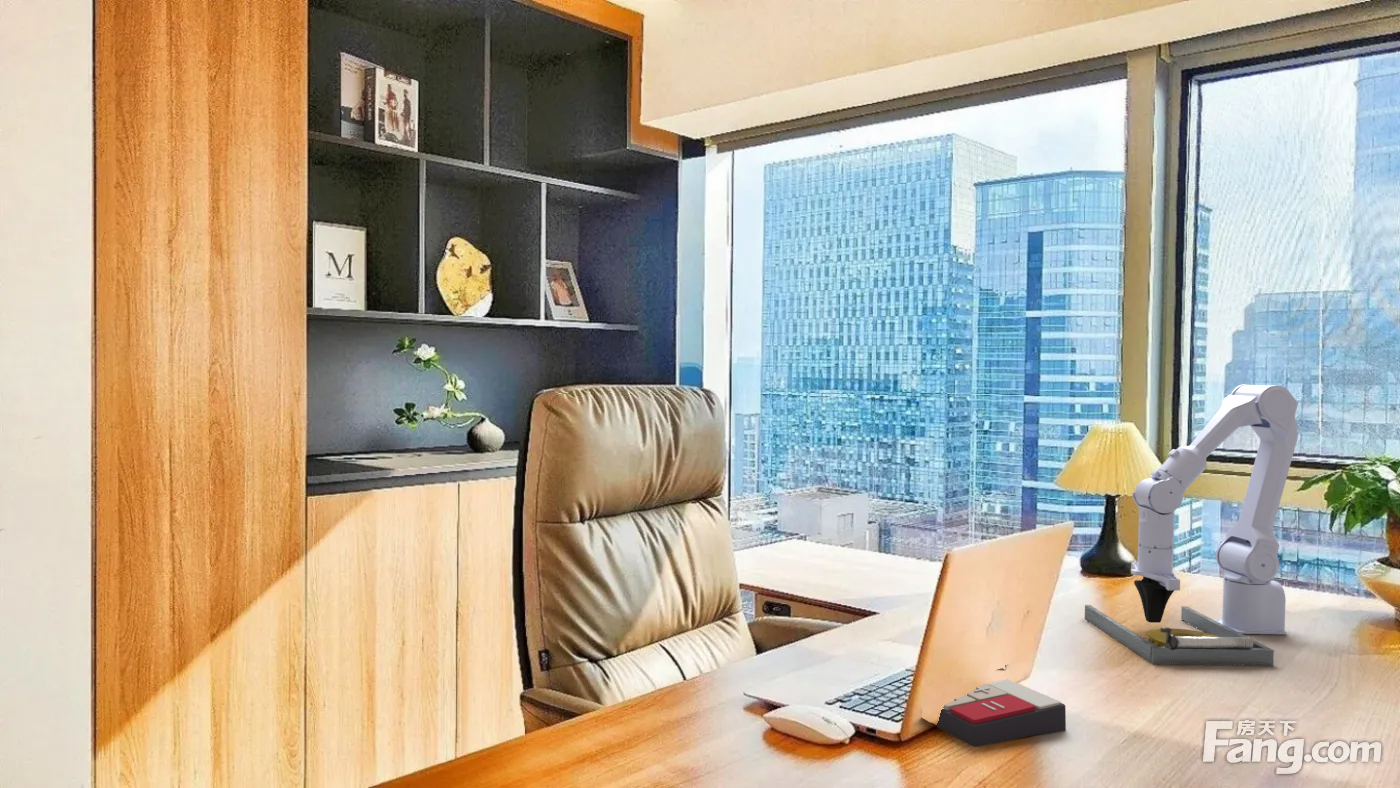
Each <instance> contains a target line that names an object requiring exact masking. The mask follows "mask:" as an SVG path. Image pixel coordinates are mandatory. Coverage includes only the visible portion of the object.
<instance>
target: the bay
mask: <svg viewBox="0 0 1400 788" xmlns="http://www.w3.org/2000/svg"><path fill="white" fill-rule="evenodd" d="M1084 619H1085V620H1087V621H1088V622H1089V623H1091V624H1093V625H1094V626H1095V627H1097V628H1098V629H1100V630H1102V631H1103V632H1104V633H1105V634H1107V635H1110V636H1111V637H1112V638H1113V639H1115V640H1117V641H1118V642H1120V643H1121V644H1122V645H1124V646H1125V647H1126V648H1128V649H1130V650H1132V652H1135V653H1136V654H1137V655H1139V656H1141V657H1142V658H1143V659H1145V660H1146V661H1147V662H1149V663H1151V664H1152V665H1184V666H1185V665H1187V666H1189V665H1191V666H1192V665H1194V666H1195V665H1196V666H1197V665H1199V666H1201V665H1202V666H1263V667H1264V666H1265V667H1268V666H1269V667H1273V666H1274V663H1275V661H1274V659H1275V658H1274V657H1275V653H1274V652H1275V649H1272V648H1270V647H1268V646H1266V645H1264V644H1262V643H1260V642H1259V641H1258V640H1257V641H1256V640H1255V639H1253V638H1251V637H1248V636H1247V635H1246V634H1241V633H1239V632H1237V631H1235V630H1233V629H1231V628H1229V627H1227V626H1225V625H1223V624H1221V623H1219V622H1217V621H1215V620H1216V619H1213V618H1211V617H1209V616H1207V615H1205V614H1203V613H1201V612H1199V611H1197V610H1195V609H1193V608H1191V607H1189V606H1188V605H1187V606H1181V617H1180V619H1182V620H1181V621H1183V620H1184V621H1183V622H1184V623H1186V622H1187V624H1188V623H1189V625H1190V624H1191V625H1190V626H1192V625H1193V626H1192V627H1194V626H1195V627H1194V628H1196V627H1197V628H1196V629H1198V630H1200V631H1201V630H1202V631H1201V632H1203V631H1204V633H1205V632H1206V633H1209V634H1212V635H1216V636H1219V637H1186V636H1174V635H1173V634H1170V629H1171V628H1169V627H1160V628H1159V629H1160V630H1161V632H1166V645H1167V647H1157V646H1155V645H1154V644H1152V643H1150V642H1149V641H1148V639H1145V638H1143V637H1142V636H1141V635H1139V634H1137V633H1136V632H1134V631H1133V630H1131V629H1129V628H1128V627H1126V626H1125V625H1123V624H1121V623H1120V622H1118V621H1117V620H1115V619H1114V618H1113V617H1110V616H1109V615H1107V614H1106V613H1103V612H1102V611H1101V610H1099V609H1098V608H1096V607H1094V606H1093V605H1091V604H1085V605H1084Z"/></svg>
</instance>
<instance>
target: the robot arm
mask: <svg viewBox="0 0 1400 788" xmlns="http://www.w3.org/2000/svg"><path fill="white" fill-rule="evenodd" d="M1298 405H1299V402H1298V401H1297V400H1296V398H1295V397H1294V395H1293V394H1292V393H1291V392H1290V391H1289V390H1288V389H1287V388H1286V387H1285V386H1282V385H1278V384H1274V385H1273V384H1271V385H1257V384H1255V385H1254V384H1248V383H1244V384H1240V385H1238V386H1236V387H1235V388H1234V389H1233V390H1232V391H1231V393H1230V394H1229V395H1227V396H1226V397H1225V398H1224V399H1223V400H1222V404H1221V406H1220V408H1219V409H1218V411H1217V412H1216V413H1215V414H1214V416H1212V418H1211V419H1210V420H1209V421H1208V423H1207V424H1206V425H1205V426H1204V427H1203V429H1202V430H1201V431H1200V432H1199V433H1198V435H1197V436H1195V438H1194V439H1193V441H1192V442H1191V443H1190V444H1189V445H1187V446H1186V445H1185V446H1178V447H1177V448H1176V449H1174V448H1173V449H1171V450H1170V451H1169V452H1168V456H1169V457H1168V458H1167V459H1166V460H1165V461H1164V462H1163V463H1162V464H1161V465H1160V467H1158V469H1157V470H1155V469H1154V470H1153V471H1152V472H1151V477H1148V478H1144V479H1142V480H1141V481H1140V482H1139V483H1138V484H1137V486H1136V488H1135V491H1133V492H1132V499H1133V502H1134V504H1136V506H1137V508H1138V529H1137V530H1138V532H1137V533H1138V535H1137V541H1138V542H1137V562H1136V561H1135V562H1134V561H1132V562H1130V563H1131V567H1130V573H1131V574H1132V575H1134V576H1141V577H1142V578H1141V579H1136V580H1134V581H1133V583H1134V584H1133V585H1134V586H1135V588H1136V590H1137V591H1138V594H1139V597H1140V600H1141V604H1142V609H1143V612H1144V613H1143V614H1144V618H1145V620H1146V622H1148V623H1156V624H1157V623H1159V624H1161V622H1162V619H1163V615H1164V613H1165V609H1166V607H1167V604H1168V602H1169V600H1170V598H1171V596H1172V595H1173V593H1174V592H1175V591H1181V579H1180V578H1178V577H1177V576H1176V574H1175V572H1174V571H1173V566H1174V565H1173V564H1174V561H1173V560H1174V530H1175V529H1174V525H1175V511H1176V510H1177V509H1178V508H1180V507H1181V506H1182V503H1183V495H1184V493H1185V492H1186V490H1187V489H1189V487H1190V486H1191V485H1192V484H1193V483H1194V481H1196V480H1197V479H1198V477H1199V476H1201V475H1202V474H1203V472H1204V471H1205V470H1206V469H1207V466H1208V465H1207V457H1209V456H1210V455H1211V454H1213V452H1215V450H1216V449H1217V448H1218V447H1220V445H1222V444H1223V442H1224V441H1226V440H1227V439H1228V438H1229V437H1230V436H1231V435H1232V434H1233V433H1234V432H1235V431H1237V430H1238V429H1239V428H1241V427H1248V426H1249V427H1251V428H1252V430H1253V431H1254V433H1255V434H1256V435H1257V437H1258V438H1259V439H1260V441H1259V444H1258V449H1257V453H1256V455H1255V456H1256V457H1255V459H1254V462H1253V466H1252V471H1251V473H1250V477H1249V481H1248V485H1247V489H1246V493H1245V496H1244V499H1243V503H1242V507H1241V511H1240V515H1239V517H1238V520H1237V521H1238V522H1237V523H1235V525H1233V526H1231V527H1230V528H1229V529H1228V530H1227V531H1226V534H1225V538H1224V539H1223V541H1222V542H1220V544H1219V545H1218V547H1217V549H1216V552H1215V559H1216V563H1217V564H1218V567H1219V568H1220V569H1222V576H1223V581H1222V582H1223V585H1222V587H1223V589H1222V613H1221V614H1222V615H1221V616H1222V617H1221V618H1222V619H1214V620H1215V621H1217V622H1219V623H1221V624H1223V625H1225V626H1227V627H1229V628H1231V629H1233V630H1235V631H1237V632H1239V633H1241V634H1243V635H1246V634H1247V635H1288V632H1287V630H1286V629H1285V628H1286V626H1285V625H1286V624H1285V623H1286V601H1287V600H1286V594H1285V589H1284V587H1283V586H1282V584H1281V583H1279V582H1278V581H1276V580H1272V579H1274V578H1275V577H1276V575H1277V573H1278V571H1279V567H1280V561H1279V555H1278V554H1279V553H1278V552H1279V548H1280V543H1279V541H1278V540H1277V538H1276V537H1275V535H1274V533H1273V529H1274V526H1275V522H1276V517H1277V516H1278V515H1277V514H1278V511H1279V507H1280V503H1281V499H1282V496H1283V492H1284V490H1285V486H1286V481H1287V478H1288V474H1289V470H1290V467H1291V463H1292V460H1293V456H1294V453H1295V448H1296V445H1297V443H1298V434H1299V433H1298V427H1297V420H1296V412H1297V408H1298Z"/></svg>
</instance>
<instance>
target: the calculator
mask: <svg viewBox="0 0 1400 788" xmlns="http://www.w3.org/2000/svg"><path fill="white" fill-rule="evenodd" d="M984 683H985V684H983V685H981V686H979V687H976V689H974V690H973V691H971V692H969V693H968V694H967V696H966V695H964V696H962V697H960V698H958V699H957V698H955V699H954V701H951V702H949V703H947V704H945V705H944V707H943V708H944V709H942V710H941V713H940V717H939V721H938V723H937V727H936V728H938V729H940V730H941V731H943V732H946V733H947V734H949V735H951V736H952V737H954V738H956V739H959V741H962V742H964V743H966V744H967V745H969V746H972V747H973V748H974V747H975V748H976V747H983V746H989V745H995V744H998V743H1004V742H1005V743H1006V742H1010V741H1015V740H1019V739H1023V738H1026V737H1030V736H1035V735H1036V736H1037V735H1040V736H1043V735H1050V734H1054V733H1060V732H1065V731H1067V726H1066V725H1067V723H1066V720H1067V717H1066V712H1067V711H1066V704H1065V703H1063V702H1061V701H1059V700H1058V699H1055V698H1053V697H1050V696H1048V695H1046V694H1044V693H1042V692H1039V691H1037V690H1034V689H1032V688H1030V687H1027V686H1025V685H1023V684H1021V683H1018V682H1016V681H1013V680H1011V679H1008V678H1007V679H1001V680H998V681H993V682H989V683H986V682H984Z"/></svg>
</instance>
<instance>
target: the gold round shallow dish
mask: <svg viewBox="0 0 1400 788" xmlns="http://www.w3.org/2000/svg"><path fill="white" fill-rule="evenodd" d="M1160 629H1161V628H1157V629H1151V630H1150V631H1148V634H1147V636H1148V637H1147V641H1149V642H1150V643H1152V644H1154V645H1155V646H1157V647H1167V645H1166V632H1161V630H1160ZM1170 634H1173V635H1174V636H1186V637H1219V636H1216V635H1212V634H1209V633H1205V632H1203V631H1198V630H1192V629H1184V628H1170Z"/></svg>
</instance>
